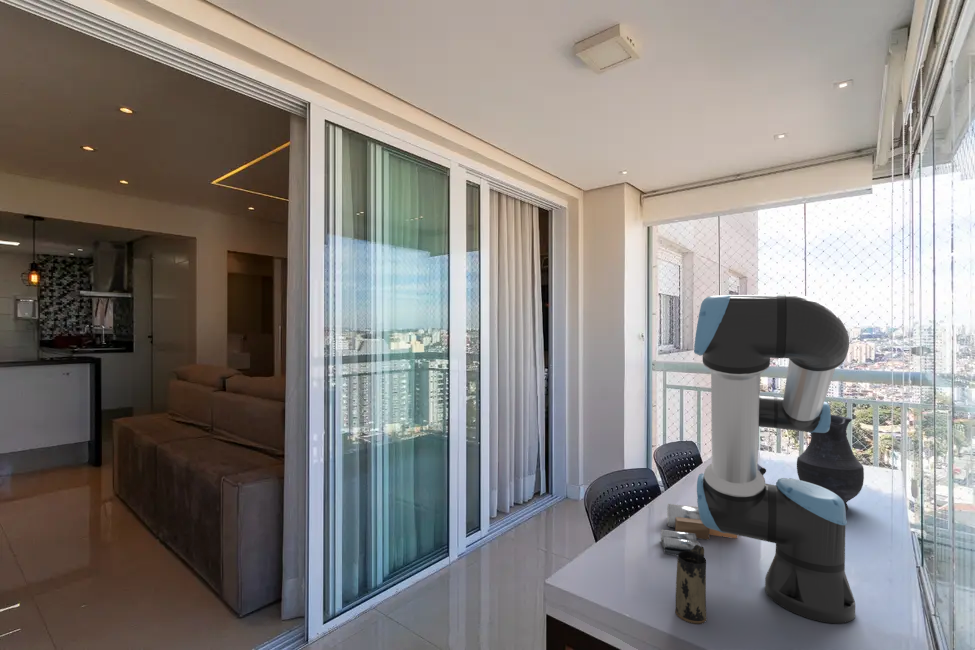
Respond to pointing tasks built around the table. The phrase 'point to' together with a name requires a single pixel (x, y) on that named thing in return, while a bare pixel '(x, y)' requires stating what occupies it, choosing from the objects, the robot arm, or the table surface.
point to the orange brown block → (721, 533)
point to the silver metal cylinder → (681, 513)
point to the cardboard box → (692, 527)
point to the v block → (677, 541)
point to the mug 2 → (691, 586)
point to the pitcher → (832, 462)
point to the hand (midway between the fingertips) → (737, 526)
